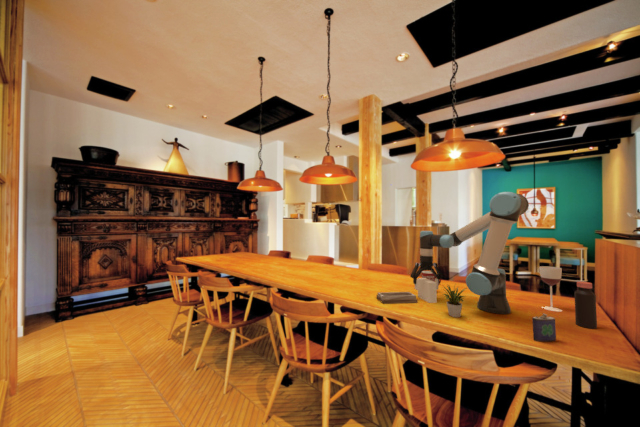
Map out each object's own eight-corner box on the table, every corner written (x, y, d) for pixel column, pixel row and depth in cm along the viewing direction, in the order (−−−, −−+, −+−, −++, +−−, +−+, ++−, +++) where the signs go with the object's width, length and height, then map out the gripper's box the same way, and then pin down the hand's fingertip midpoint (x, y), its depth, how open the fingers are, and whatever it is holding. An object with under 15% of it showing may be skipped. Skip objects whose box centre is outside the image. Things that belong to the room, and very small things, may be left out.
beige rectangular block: (436, 302, 148) (436, 282, 149) (428, 302, 148) (428, 282, 148) (425, 296, 161) (424, 278, 162) (417, 296, 161) (417, 278, 161)
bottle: (599, 327, 113) (597, 283, 114) (594, 330, 110) (592, 284, 111) (578, 322, 119) (576, 280, 120) (573, 324, 116) (571, 281, 117)
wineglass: (567, 310, 136) (565, 268, 137) (556, 312, 132) (555, 269, 134) (547, 305, 145) (545, 265, 146) (536, 307, 141) (535, 266, 142)
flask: (551, 338, 102) (550, 311, 102) (559, 341, 99) (558, 314, 99) (531, 339, 101) (530, 312, 101) (538, 342, 98) (537, 315, 99)
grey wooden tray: (417, 302, 148) (417, 296, 148) (383, 303, 145) (383, 297, 145) (408, 297, 160) (408, 291, 160) (376, 297, 157) (376, 291, 157)
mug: (421, 292, 171) (421, 272, 172) (421, 289, 180) (421, 270, 180) (441, 294, 166) (441, 274, 167) (441, 291, 174) (440, 272, 175)
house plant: (432, 314, 128) (431, 283, 128) (441, 308, 137) (441, 279, 138) (463, 322, 118) (462, 288, 118) (470, 315, 127) (470, 283, 128)
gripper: (441, 254, 161) (441, 287, 160) (404, 254, 158) (404, 287, 157) (448, 256, 154) (448, 290, 153) (410, 256, 151) (410, 291, 150)
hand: (426, 289), depth 155 cm, fingers open, 13 cm apart
